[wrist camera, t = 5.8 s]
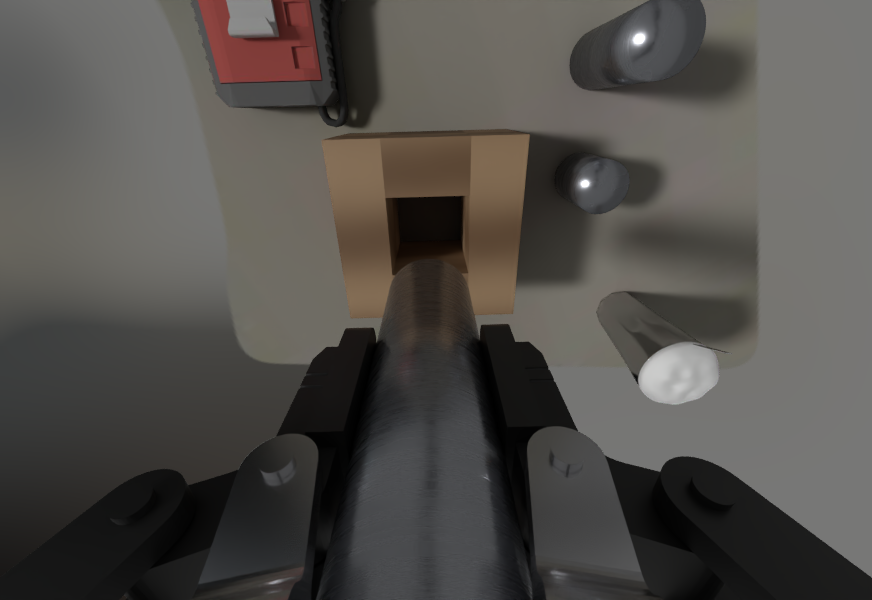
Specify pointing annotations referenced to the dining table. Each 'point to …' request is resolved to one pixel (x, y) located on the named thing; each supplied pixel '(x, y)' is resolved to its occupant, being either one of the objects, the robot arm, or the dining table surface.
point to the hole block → (428, 177)
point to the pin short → (592, 182)
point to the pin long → (427, 461)
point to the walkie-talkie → (274, 53)
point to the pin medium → (640, 45)
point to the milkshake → (658, 351)
